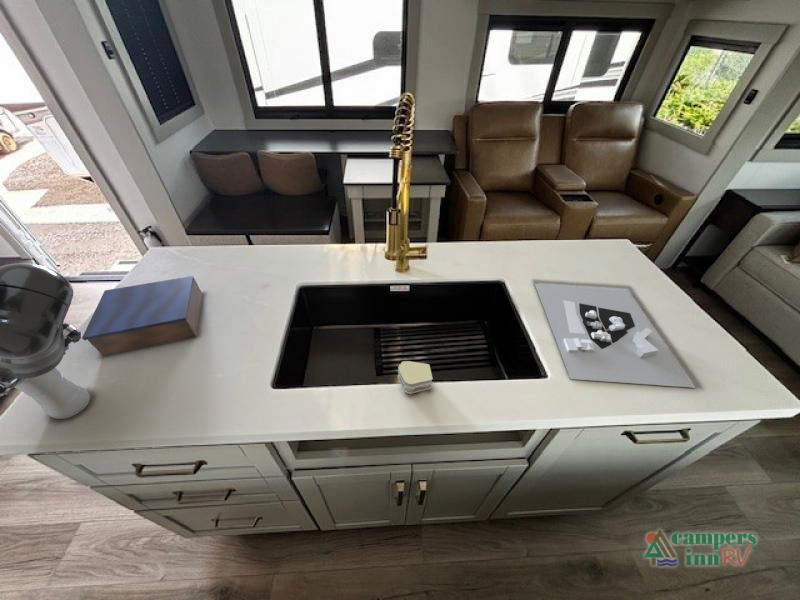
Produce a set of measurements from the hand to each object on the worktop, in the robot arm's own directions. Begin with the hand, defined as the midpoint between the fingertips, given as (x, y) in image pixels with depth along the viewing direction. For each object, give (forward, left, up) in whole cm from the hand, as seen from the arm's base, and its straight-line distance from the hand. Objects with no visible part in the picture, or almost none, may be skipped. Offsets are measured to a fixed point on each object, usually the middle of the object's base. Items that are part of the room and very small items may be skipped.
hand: (31, 370), depth 57 cm
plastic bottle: (-2, +1, -14) cm, 15 cm away
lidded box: (+10, +22, -14) cm, 28 cm away
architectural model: (+123, -15, -14) cm, 125 cm away
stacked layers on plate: (+67, -16, -14) cm, 71 cm away
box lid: (+10, +22, -7) cm, 25 cm away
